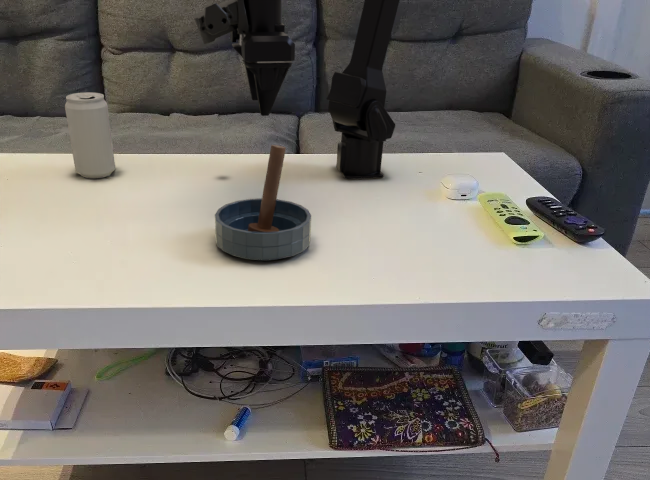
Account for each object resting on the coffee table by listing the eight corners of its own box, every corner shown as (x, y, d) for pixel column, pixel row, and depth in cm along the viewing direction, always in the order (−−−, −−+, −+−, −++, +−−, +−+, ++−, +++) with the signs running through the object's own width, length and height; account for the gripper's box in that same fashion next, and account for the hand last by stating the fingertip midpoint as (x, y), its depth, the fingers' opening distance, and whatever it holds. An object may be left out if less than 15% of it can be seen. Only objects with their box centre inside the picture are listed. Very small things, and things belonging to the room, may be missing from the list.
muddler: (276, 235, 87) (293, 147, 83) (279, 243, 84) (296, 151, 79) (246, 230, 87) (261, 141, 82) (247, 238, 83) (263, 145, 78)
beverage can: (87, 182, 105) (75, 102, 98) (68, 172, 109) (55, 94, 102) (123, 174, 108) (114, 96, 102) (103, 165, 112) (93, 89, 106)
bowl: (300, 224, 92) (301, 196, 89) (318, 261, 82) (319, 230, 79) (212, 229, 90) (211, 200, 88) (220, 267, 80) (219, 235, 78)
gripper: (191, -29, 90) (197, 94, 99) (200, -18, 75) (206, 126, 84) (272, -28, 92) (271, 92, 101) (297, -18, 77) (293, 123, 85)
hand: (260, 107), depth 93 cm, fingers open, 9 cm apart
